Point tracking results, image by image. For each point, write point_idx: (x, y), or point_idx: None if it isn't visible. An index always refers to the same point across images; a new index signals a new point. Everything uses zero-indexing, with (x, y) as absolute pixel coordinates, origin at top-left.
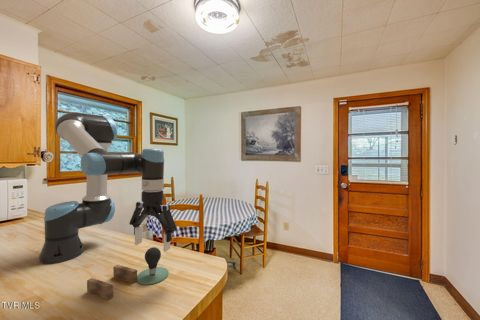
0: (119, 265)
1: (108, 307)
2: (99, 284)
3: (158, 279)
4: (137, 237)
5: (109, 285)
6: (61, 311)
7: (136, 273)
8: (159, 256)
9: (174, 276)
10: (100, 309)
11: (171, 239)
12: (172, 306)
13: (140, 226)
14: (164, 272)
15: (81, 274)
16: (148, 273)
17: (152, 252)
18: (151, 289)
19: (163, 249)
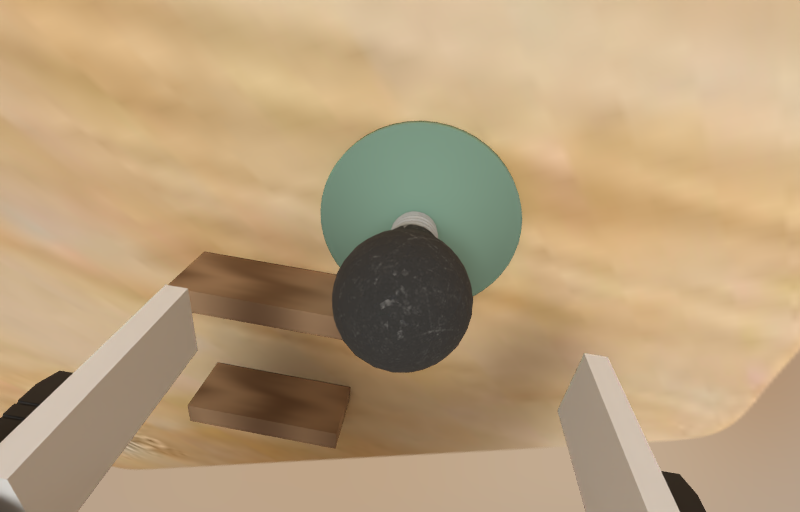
0: (190, 292)
1: (384, 428)
2: (275, 436)
3: (487, 267)
4: (148, 400)
5: (327, 440)
6: (249, 451)
7: None
8: (472, 304)
9: (570, 196)
10: (365, 437)
11: (696, 501)
12: (651, 405)
13: (15, 498)
14: (483, 188)
15: (30, 276)
16: (380, 221)
17: (423, 367)
18: (488, 327)
19: (562, 427)
